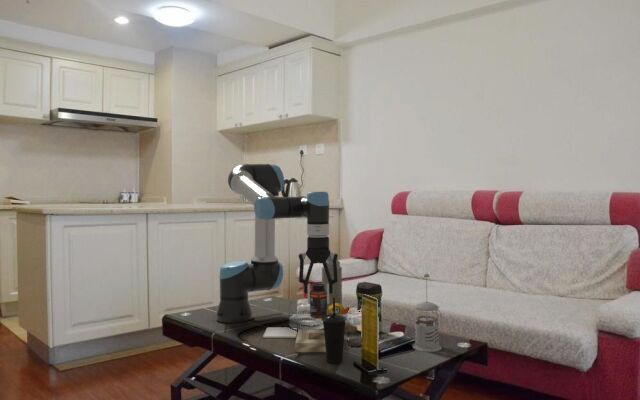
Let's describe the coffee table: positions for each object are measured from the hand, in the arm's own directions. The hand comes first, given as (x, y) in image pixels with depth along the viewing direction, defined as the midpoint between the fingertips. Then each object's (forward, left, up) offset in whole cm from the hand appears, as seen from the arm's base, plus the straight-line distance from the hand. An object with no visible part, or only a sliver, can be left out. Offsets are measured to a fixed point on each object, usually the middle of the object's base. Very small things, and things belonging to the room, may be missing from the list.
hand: (318, 302), depth 176 cm
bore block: (0, 0, -15) cm, 15 cm away
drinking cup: (+5, -17, -15) cm, 23 cm away
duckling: (+5, +20, -15) cm, 25 cm away
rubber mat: (-15, +14, -15) cm, 25 cm away
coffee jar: (+18, +16, -15) cm, 28 cm away
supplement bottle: (0, 0, -5) cm, 5 cm away
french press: (+37, -2, -15) cm, 40 cm away
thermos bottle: (+4, +29, -15) cm, 33 cm away
